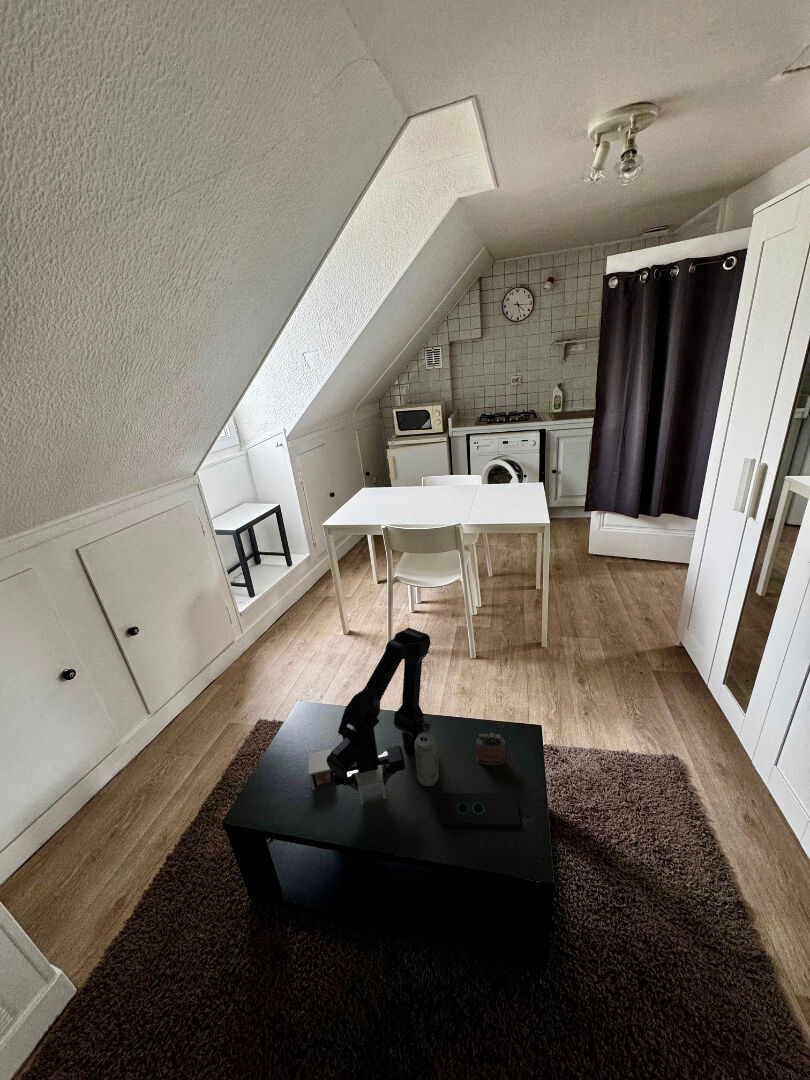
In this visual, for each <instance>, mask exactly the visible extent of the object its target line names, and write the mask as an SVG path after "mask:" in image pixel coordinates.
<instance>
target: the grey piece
mask: <svg viewBox="0 0 810 1080" xmlns="http://www.w3.org/2000/svg"><path fill="white" fill-rule="evenodd" d="M332 750H333V749H332V748H328V749H325V750H320V751H316V752H312V753H309V754H308V776H309V781H310V785H311V789H312V791H315V786H316V785H315V782H316V778H315V774H318V773H322V772H326V771H331V769H330V768H329V766H328V764H327V761H326V759H327V757H328V756H329V755H330V754H331V751H332Z"/></svg>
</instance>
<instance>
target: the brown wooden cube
mask: <svg viewBox="0 0 810 1080" xmlns="http://www.w3.org/2000/svg"><path fill="white" fill-rule="evenodd" d="M315 782H316V786H319V785H323V784H326V783H332V774H331V771H326V772H322V773H318V774H315Z"/></svg>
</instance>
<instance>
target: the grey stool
mask: <svg viewBox="0 0 810 1080" xmlns="http://www.w3.org/2000/svg"><path fill="white" fill-rule="evenodd" d="M356 778H357V783H358V791H359V792H358V791H357V792H358V795H359V803H360V805H364V801H363V800H364V799H363V797H364V796H363V791H362V789H365V788H369V787H373V786H378V785H381V791H382V798H383V799H384V800H385V799H387V797H386V791H385V790H386V789H385V785H384V781H383V768H382V765H378V769H377V770H372V771H368V772H364V773H356Z"/></svg>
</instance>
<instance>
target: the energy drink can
mask: <svg viewBox="0 0 810 1080" xmlns="http://www.w3.org/2000/svg"><path fill="white" fill-rule="evenodd" d="M437 743H438V742H437V739H435V737H434V735H433V734H432V733H431V732H422V733H420V734H419V735H418V736H417V738H416V740H415V743H414V746H415V753H414V754H415V767H416V777H417V780H418V783H420V785H423V786H425V787H431V786H434V785H435V784H436V783H437V782H438V780H439V778H440V776H439V775H440V774H439V760H438V746H437V745H438V744H437Z"/></svg>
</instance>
